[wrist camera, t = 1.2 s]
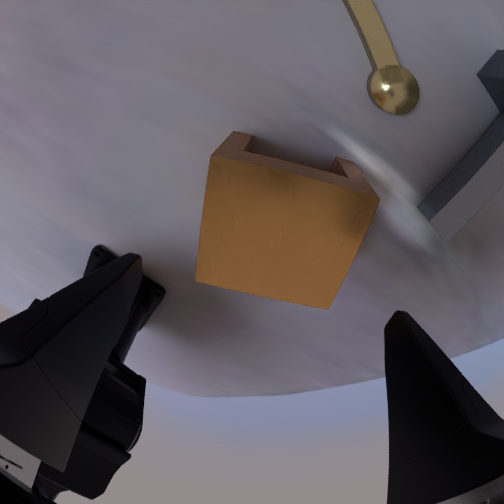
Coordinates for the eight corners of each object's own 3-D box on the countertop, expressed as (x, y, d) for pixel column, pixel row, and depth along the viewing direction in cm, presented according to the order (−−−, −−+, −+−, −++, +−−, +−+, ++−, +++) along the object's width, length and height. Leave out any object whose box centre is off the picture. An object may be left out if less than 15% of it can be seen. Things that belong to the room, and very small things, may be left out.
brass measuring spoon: (416, 106, 12) (424, 109, 11) (375, 116, 13) (381, 119, 12) (374, -5, 9) (379, -9, 8) (328, 3, 9) (331, -2, 9)
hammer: (445, 243, 16) (471, 280, 13) (386, 172, 14) (413, 202, 11) (541, 134, 10) (577, 153, 7) (497, 49, 8) (539, 53, 5)
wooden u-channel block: (319, 251, 18) (327, 309, 13) (216, 227, 17) (194, 281, 13) (352, 161, 14) (380, 199, 10) (233, 131, 14) (210, 155, 10)
